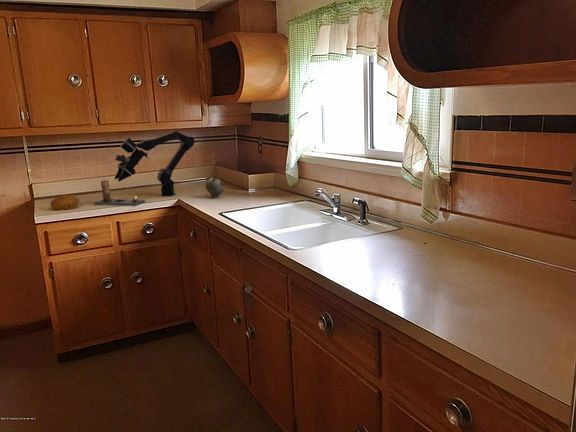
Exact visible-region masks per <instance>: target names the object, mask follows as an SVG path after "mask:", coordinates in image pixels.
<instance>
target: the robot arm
mask: <svg viewBox="0 0 576 432" xmlns="http://www.w3.org/2000/svg"><path fill="white" fill-rule="evenodd" d="M173 140H178V141H180V144H179V147H178V149H177V151H176V152H175V153H174V155H173V156H172V158H171V159H170V161H169V162H168V164H167V166H166V167H164V168H162V167H161V168H160V169H159V171H158V172H157V176H156V179H157V180H158V182H159V183H161V184H160V185H161V188H160V191H161V194H160V197H172V196H174V195H177V193H175V186H174V185H175V181H174V180H172V176H173V172H174V170H175V168H176V167H177V166H178V164H179V163H180V161H181V160H182V158H183V157H184V155H185V154H186V153H187V151H188V150H190V149H191V148H192V147H193V146H194V144H195V143H196V141H195V138H194V137H193V136H190V135H185V134H183V133H181V132H179V131H176V130H173V131H171V132H169V133H166V134H163V135H161V136H158V137H155V138H147V139H142V140H141V141H140V142H136V143H135V142H134V141H133V140H132V139H131V138H129V137H127V138H126V139H125V140H124V141H122V143H121V144H120V146H119V147H120V148H121V149H123V150H124V151H125V152H126V153H127V154H130V156H127V157H126V155H125V154H121V155H119V154H116V156H115V159H114V160H115V161H117V162H119V163H118V164H117V168H118V169H117V172H116V175H115V176H114V180H117V181H118V182H121V181H123V180H125V179H128V178H130V177H132V176H133V175H135V174H136V169H134V168H135V167H136V166H138V165H139V163H140V161H142V159H143V158H144V157H145V158H148V157H149V156H148V151H149V152H150V151H151V150H152V149H154V148H155V147H157V146H159V145H161V144H164V143H167V142H169V141H173ZM145 151H146V152H145Z"/></svg>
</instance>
